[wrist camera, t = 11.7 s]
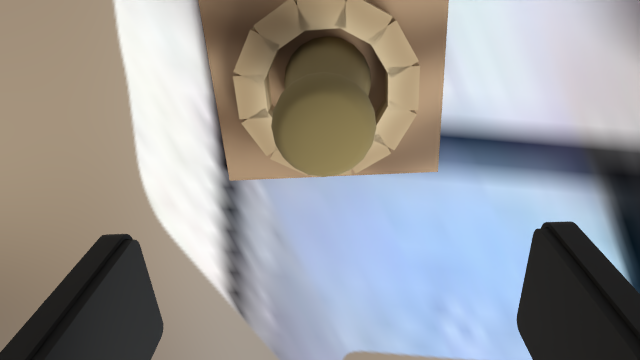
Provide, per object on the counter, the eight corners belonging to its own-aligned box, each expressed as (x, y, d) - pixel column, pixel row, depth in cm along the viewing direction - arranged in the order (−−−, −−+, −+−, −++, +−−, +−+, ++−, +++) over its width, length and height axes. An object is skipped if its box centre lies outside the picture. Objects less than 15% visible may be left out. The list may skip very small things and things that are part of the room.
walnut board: (180, -128, 26) (175, -132, 25) (454, -152, 25) (458, -156, 24) (232, 175, 34) (229, 180, 33) (435, 166, 33) (437, 171, 32)
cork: (298, 23, 28) (277, 52, 18) (384, 53, 29) (409, 97, 19) (274, 108, 31) (244, 174, 21) (353, 134, 31) (361, 209, 21)
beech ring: (228, -2, 28) (221, 0, 26) (417, -15, 27) (422, -13, 25) (253, 167, 33) (248, 179, 31) (411, 160, 32) (415, 172, 30)
